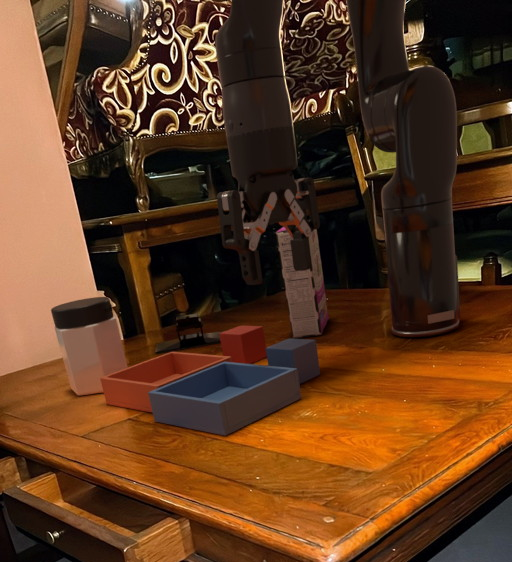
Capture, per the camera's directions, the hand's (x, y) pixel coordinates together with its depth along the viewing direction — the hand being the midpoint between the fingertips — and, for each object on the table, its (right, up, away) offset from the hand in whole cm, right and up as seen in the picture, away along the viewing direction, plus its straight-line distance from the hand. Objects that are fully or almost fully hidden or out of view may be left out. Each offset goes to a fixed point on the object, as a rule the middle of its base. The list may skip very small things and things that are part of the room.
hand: (279, 276), depth 83 cm
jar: (-25, -12, +17) cm, 33 cm away
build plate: (-13, -3, +34) cm, 37 cm away
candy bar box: (+6, -1, +30) cm, 30 cm away
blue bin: (-6, -16, -3) cm, 17 cm away
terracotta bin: (-14, -13, +8) cm, 21 cm away
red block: (-4, -8, +18) cm, 19 cm away
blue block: (+2, -12, +5) cm, 13 cm away
